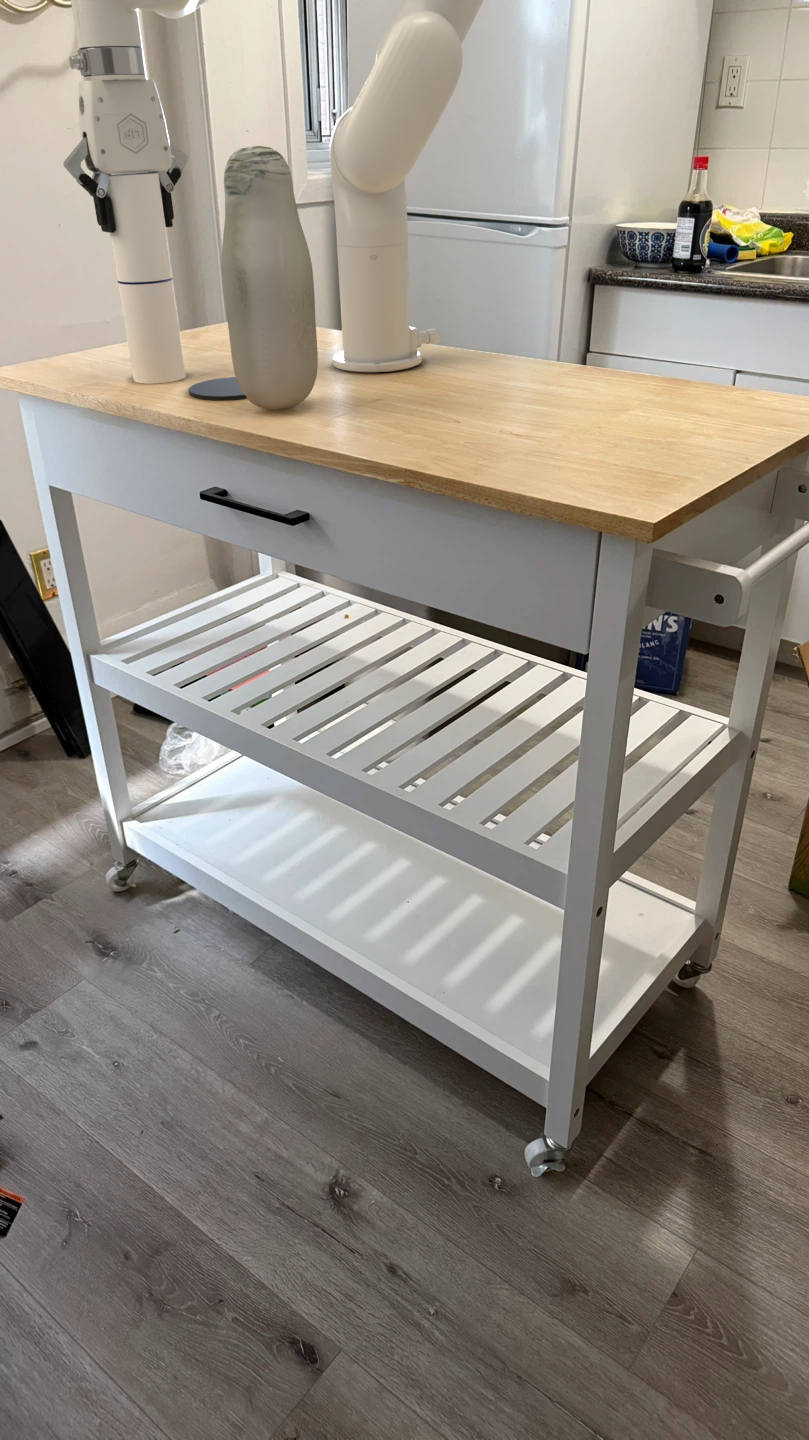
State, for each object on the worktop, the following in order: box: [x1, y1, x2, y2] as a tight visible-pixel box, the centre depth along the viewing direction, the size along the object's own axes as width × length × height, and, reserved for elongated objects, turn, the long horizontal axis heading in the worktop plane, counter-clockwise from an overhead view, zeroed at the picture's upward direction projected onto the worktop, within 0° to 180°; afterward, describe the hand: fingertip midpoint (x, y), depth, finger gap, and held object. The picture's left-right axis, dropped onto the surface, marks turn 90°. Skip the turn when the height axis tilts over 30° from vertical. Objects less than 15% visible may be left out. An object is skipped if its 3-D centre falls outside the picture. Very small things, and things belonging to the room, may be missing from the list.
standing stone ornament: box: [220, 145, 319, 411], centre depth 119 cm, size 10×10×28 cm
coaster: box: [188, 376, 248, 401], centre depth 134 cm, size 11×11×1 cm
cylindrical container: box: [107, 172, 187, 385], centre depth 136 cm, size 7×7×25 cm
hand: (137, 228), depth 133 cm, fingers closed on cylindrical container, 7 cm apart
